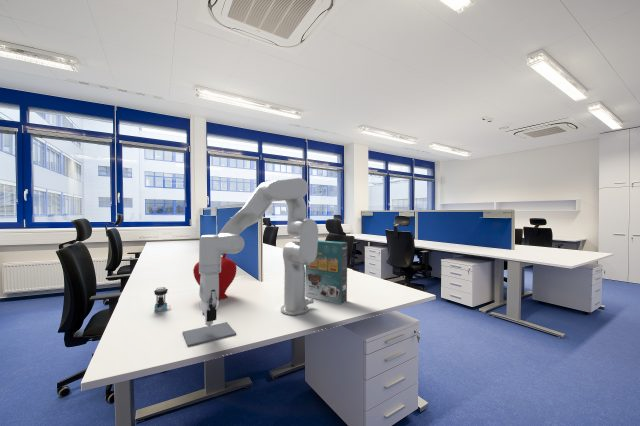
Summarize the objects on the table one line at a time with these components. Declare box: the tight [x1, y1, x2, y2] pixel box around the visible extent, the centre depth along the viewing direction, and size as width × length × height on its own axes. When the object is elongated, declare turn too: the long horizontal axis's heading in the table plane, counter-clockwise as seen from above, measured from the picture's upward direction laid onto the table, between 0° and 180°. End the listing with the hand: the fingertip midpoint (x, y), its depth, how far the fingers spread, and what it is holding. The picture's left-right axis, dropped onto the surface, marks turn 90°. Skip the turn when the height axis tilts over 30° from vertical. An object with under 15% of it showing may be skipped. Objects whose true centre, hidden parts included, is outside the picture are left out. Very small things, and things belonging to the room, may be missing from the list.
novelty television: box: [192, 253, 237, 301], centre depth 141 cm, size 21×13×30 cm, turn 144°
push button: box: [153, 286, 171, 312], centre depth 122 cm, size 7×5×10 cm
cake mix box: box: [305, 239, 348, 305], centre depth 141 cm, size 22×6×30 cm, turn 58°
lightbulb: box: [199, 299, 220, 326], centre depth 98 cm, size 6×6×11 cm
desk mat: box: [182, 321, 237, 348], centre depth 98 cm, size 16×12×1 cm
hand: (209, 317), depth 98 cm, fingers closed on lightbulb, 6 cm apart
